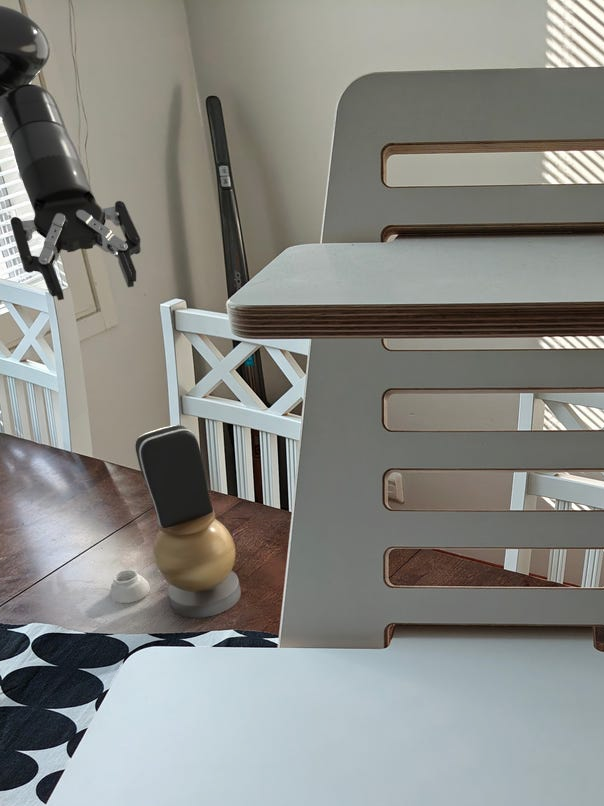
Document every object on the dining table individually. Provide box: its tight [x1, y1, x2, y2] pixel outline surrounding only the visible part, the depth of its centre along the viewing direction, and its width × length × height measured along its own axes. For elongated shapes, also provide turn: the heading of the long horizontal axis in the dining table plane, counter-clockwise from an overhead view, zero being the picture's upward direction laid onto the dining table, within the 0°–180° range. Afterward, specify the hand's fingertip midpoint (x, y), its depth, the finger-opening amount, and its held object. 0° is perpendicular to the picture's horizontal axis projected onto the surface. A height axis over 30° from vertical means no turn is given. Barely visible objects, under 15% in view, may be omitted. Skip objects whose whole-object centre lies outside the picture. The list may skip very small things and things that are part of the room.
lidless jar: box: [109, 569, 151, 604], centre depth 128 cm, size 5×3×5 cm
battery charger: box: [134, 424, 214, 528], centre depth 117 cm, size 7×4×11 cm, turn 124°
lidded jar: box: [152, 509, 242, 619], centre depth 124 cm, size 10×10×12 cm
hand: (96, 290), depth 121 cm, fingers open, 8 cm apart
